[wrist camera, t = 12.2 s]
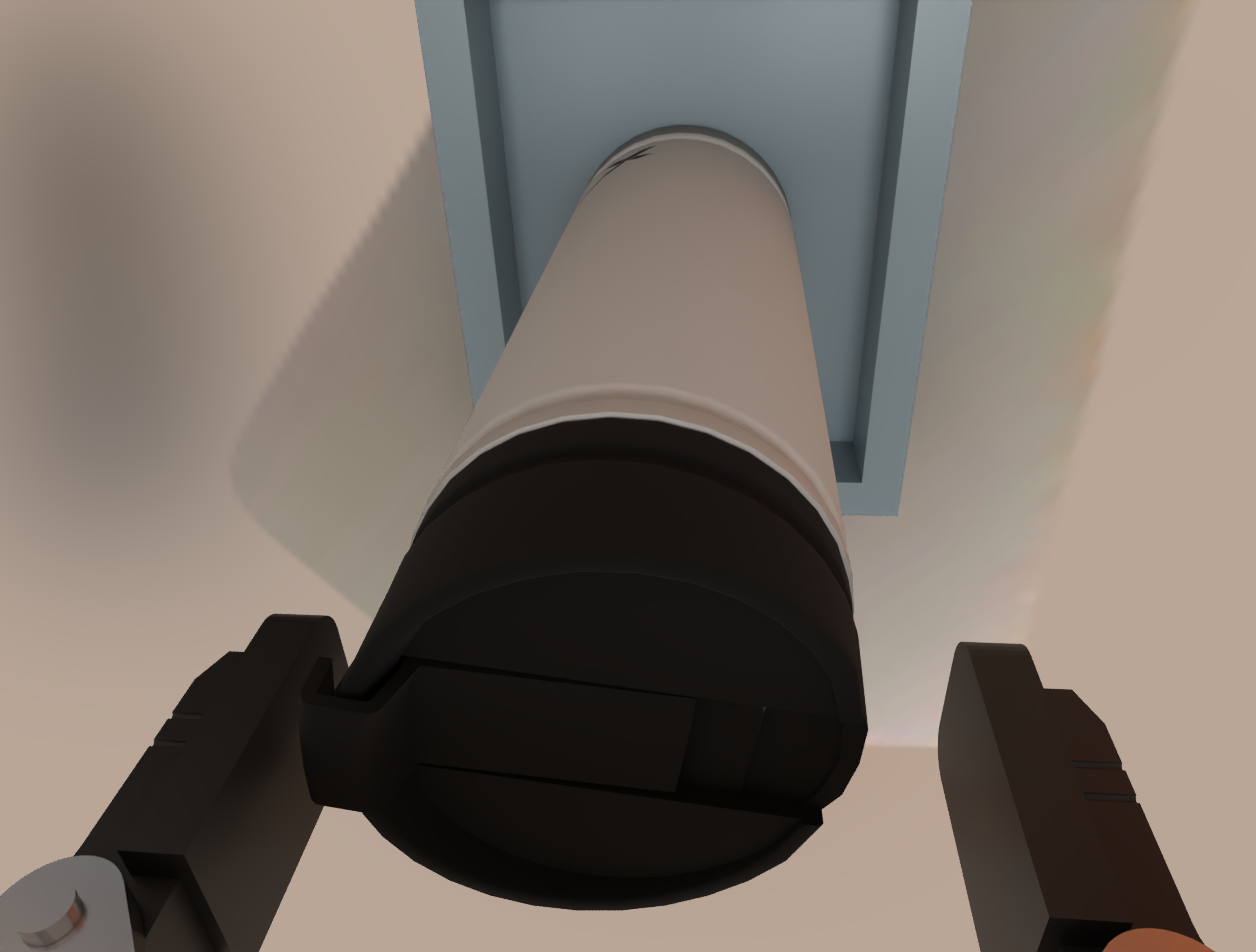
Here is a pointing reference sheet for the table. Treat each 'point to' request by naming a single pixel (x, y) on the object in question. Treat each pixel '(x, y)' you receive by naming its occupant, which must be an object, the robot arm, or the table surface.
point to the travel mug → (621, 572)
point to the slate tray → (743, 108)
